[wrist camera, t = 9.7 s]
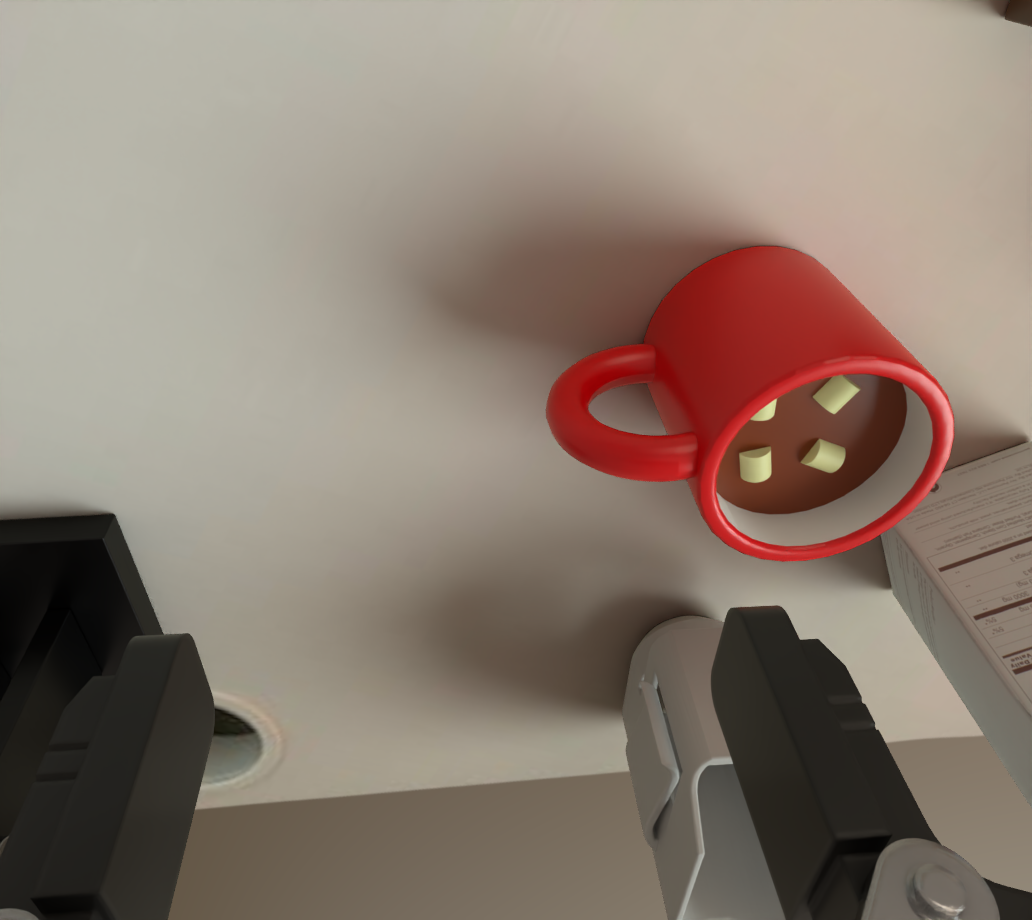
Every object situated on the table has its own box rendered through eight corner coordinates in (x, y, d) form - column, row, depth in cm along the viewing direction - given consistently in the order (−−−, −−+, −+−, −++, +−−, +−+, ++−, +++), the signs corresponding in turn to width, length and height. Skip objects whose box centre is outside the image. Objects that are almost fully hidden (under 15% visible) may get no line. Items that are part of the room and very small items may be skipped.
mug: (528, 267, 28) (557, 386, 21) (866, 236, 28) (992, 343, 22) (538, 448, 32) (565, 588, 26) (826, 419, 33) (920, 551, 26)
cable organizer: (757, 572, 38) (868, 810, 28) (712, 725, 45) (787, 955, 36) (621, 577, 37) (687, 823, 28) (597, 732, 45) (643, 967, 35)
